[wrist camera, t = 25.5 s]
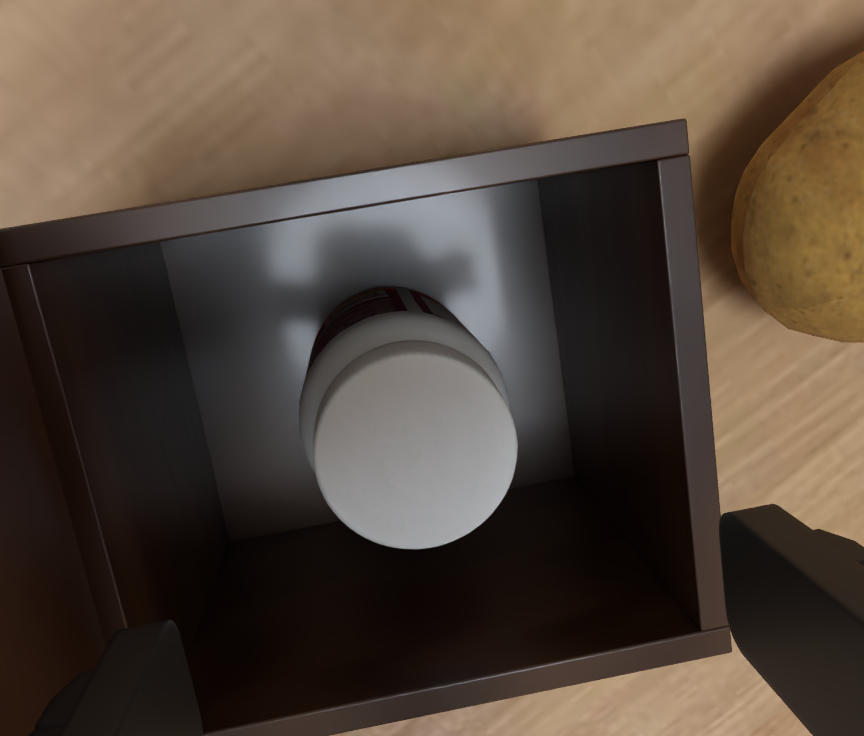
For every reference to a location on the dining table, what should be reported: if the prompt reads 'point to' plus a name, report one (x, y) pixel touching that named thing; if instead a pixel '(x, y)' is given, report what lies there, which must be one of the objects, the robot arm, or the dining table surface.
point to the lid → (35, 555)
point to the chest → (296, 481)
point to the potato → (808, 213)
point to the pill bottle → (406, 420)
